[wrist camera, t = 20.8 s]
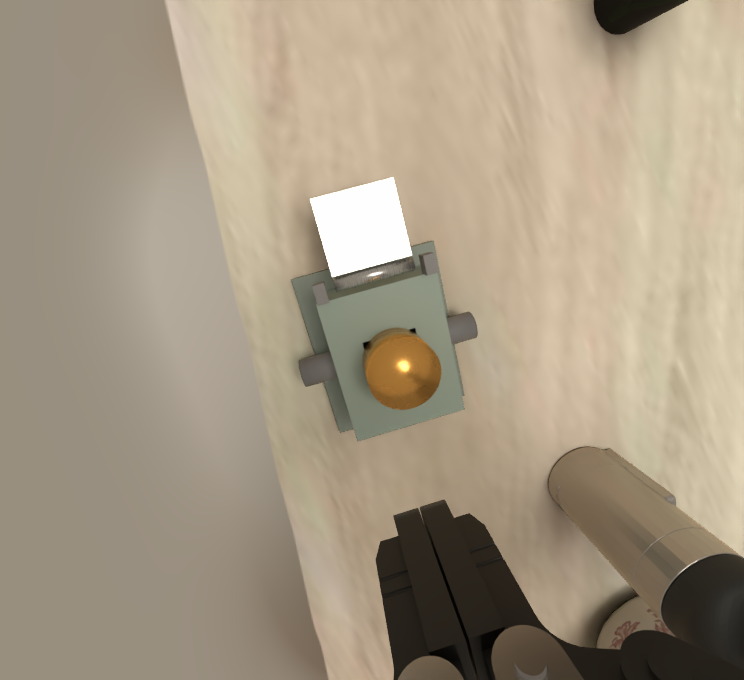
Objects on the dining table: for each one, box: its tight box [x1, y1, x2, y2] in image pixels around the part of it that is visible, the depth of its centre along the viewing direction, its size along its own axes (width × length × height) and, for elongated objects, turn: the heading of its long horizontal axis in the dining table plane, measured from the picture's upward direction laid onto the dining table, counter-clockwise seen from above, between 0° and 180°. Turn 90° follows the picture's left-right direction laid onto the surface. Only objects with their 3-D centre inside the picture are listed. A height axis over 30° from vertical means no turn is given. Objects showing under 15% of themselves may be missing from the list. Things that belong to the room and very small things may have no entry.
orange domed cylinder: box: [362, 328, 441, 410], centre depth 36 cm, size 6×6×10 cm
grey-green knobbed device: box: [292, 241, 478, 441], centre depth 38 cm, size 18×18×8 cm
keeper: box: [310, 178, 415, 292], centre depth 31 cm, size 7×1×8 cm
